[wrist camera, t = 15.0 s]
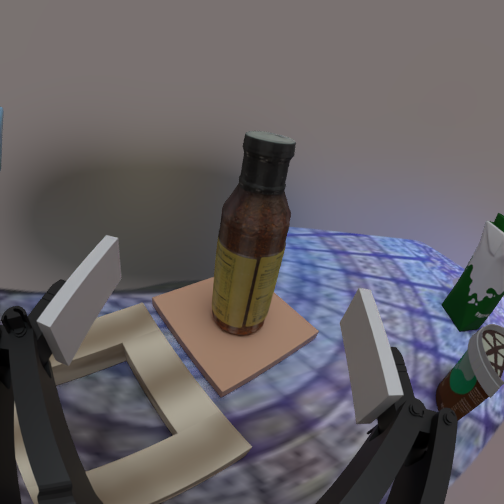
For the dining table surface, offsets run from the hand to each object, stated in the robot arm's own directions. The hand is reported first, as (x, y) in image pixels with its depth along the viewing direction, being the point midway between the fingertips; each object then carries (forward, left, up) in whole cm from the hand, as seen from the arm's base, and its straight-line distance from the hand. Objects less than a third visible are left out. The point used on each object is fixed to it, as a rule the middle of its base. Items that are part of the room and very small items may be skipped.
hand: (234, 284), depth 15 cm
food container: (+19, +23, -15) cm, 34 cm away
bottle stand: (-3, -10, -15) cm, 18 cm away
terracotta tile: (-7, +8, -15) cm, 19 cm away
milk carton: (+16, +43, -15) cm, 49 cm away
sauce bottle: (-7, +8, -14) cm, 18 cm away
